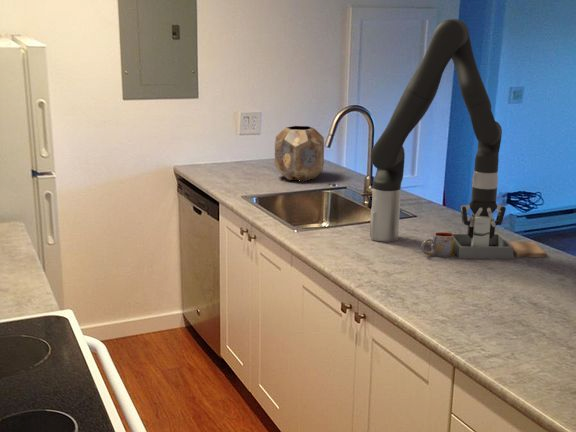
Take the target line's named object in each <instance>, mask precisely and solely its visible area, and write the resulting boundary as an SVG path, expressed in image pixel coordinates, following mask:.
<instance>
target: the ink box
mask: <svg viewBox="0 0 576 432" xmlns="http://www.w3.org/2000/svg"><path fill="white" fill-rule="evenodd" d="M490 223H491V218H490V217H489V216H475V221H474V225H473V227H474V230H473V238H472V242H471V245H470V247H490V245H489V236H490Z"/></svg>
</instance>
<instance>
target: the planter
mask: <svg viewBox="0 0 576 432" xmlns="http://www.w3.org/2000/svg"><path fill="white" fill-rule="evenodd" d="M324 161H325V138H324V136H323V135H322V134H321V133H320V132H319V131H318V130H317V129H316V128H314V127H312V126H309V125H308V126H307V125H292V126H287V127H285V128H284V129H282V130H281V131H280V132H279V133H278V134H277V135H276V136H275V141H274V167H275V169H276V171H278V173H279V174H281V175H282V176H283V178H285V179H286V178H287V179H286V180H288V179H289V180H288V181H290V180H300V181H299V182H304V181H305V182H307V181H306V180H309V181H311V180H310V179H312V180H315V178H317V177H318V176H319V175H320V174H321V173H323V171H324V163H325V162H324Z"/></svg>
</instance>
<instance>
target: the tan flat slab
mask: <svg viewBox="0 0 576 432" xmlns="http://www.w3.org/2000/svg"><path fill="white" fill-rule="evenodd" d="M508 242H509V243H510V244H511V245H512V246H513V247H514V250H513V256H515V257H516V258H546V257H547V253H546V252H545V251H544V250H543V249H542V248H541V247H540V246H539V245H538V244H537V243H535V242H534V241H508Z"/></svg>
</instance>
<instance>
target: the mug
mask: <svg viewBox="0 0 576 432" xmlns="http://www.w3.org/2000/svg"><path fill="white" fill-rule="evenodd" d="M453 234H454V233H452V232H440V231H439V232H436V233H434V235H433V236H432V237H433V238H427V239H425V240H423V241H422V243H421V245H420V250H421V252H422V253H423V255H424V254H425V256H431V257H433V256H435V257H442V258H443V257H444V258H446V257H447V258H448V257H451V256H454V255H455V252H454V242H455V240H454V239H453ZM428 242H431V245H430V250H431V251H426V250H425V245H426V243H428Z"/></svg>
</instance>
